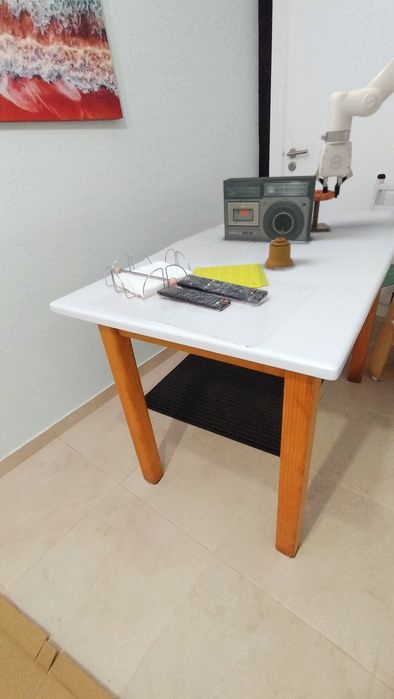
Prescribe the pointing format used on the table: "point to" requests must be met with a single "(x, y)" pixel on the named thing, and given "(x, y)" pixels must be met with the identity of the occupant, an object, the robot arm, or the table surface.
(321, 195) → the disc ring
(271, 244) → the ornamental finial
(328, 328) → the table surface
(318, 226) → the wooden bookend
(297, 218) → the cassette player
